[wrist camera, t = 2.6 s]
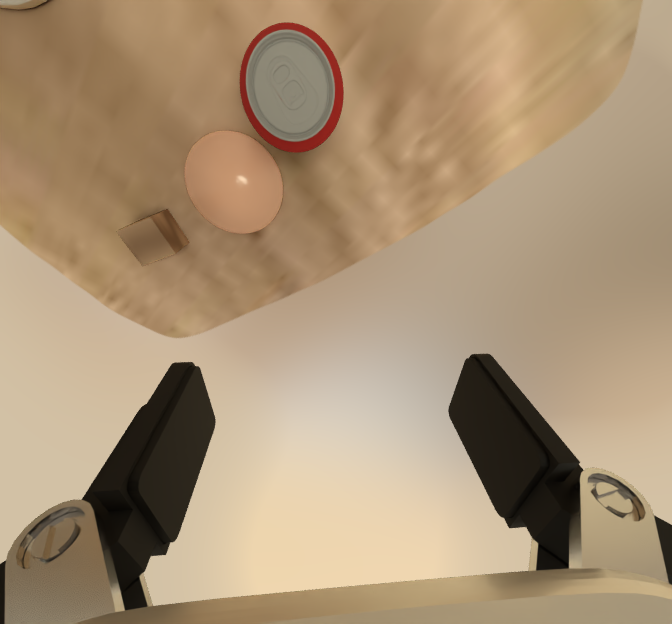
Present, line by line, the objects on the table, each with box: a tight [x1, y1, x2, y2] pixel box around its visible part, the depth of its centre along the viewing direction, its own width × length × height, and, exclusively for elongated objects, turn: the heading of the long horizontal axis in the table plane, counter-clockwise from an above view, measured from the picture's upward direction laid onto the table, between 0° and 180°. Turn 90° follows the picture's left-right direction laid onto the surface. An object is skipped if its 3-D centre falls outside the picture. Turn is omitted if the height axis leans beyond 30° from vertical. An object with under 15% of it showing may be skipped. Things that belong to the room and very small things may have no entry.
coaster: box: [185, 131, 283, 234], centre depth 30 cm, size 10×10×1 cm
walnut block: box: [116, 209, 189, 266], centre depth 31 cm, size 4×4×4 cm
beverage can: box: [240, 23, 343, 152], centre depth 22 cm, size 7×7×12 cm
